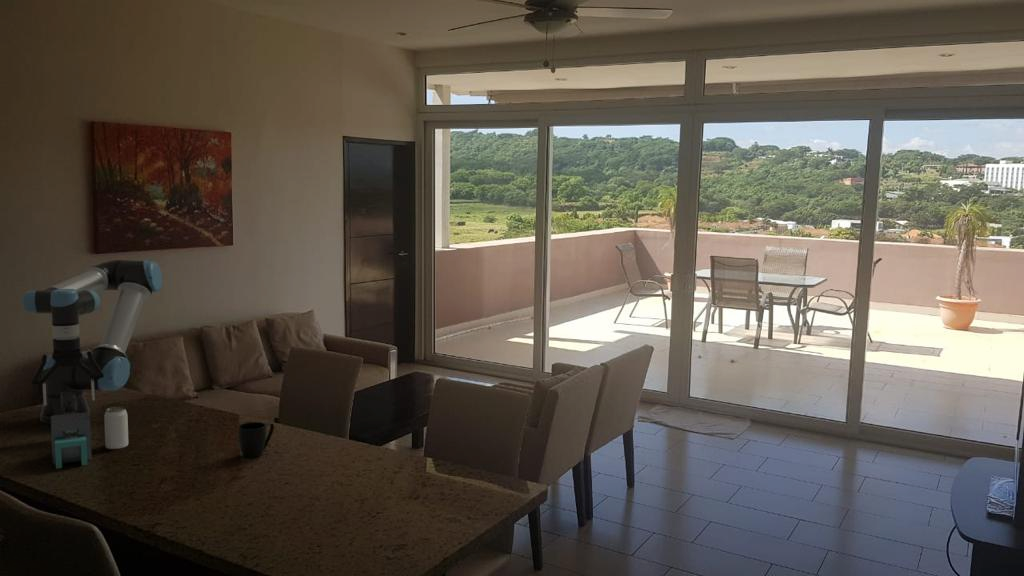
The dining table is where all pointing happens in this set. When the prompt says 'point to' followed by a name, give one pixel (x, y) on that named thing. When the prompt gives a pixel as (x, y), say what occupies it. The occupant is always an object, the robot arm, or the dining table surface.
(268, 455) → the dining table surface
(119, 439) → the can
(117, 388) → the robot arm
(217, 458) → the dining table surface
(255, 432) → the mug
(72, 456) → the housing
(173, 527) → the dining table surface
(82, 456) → the block
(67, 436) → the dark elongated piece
